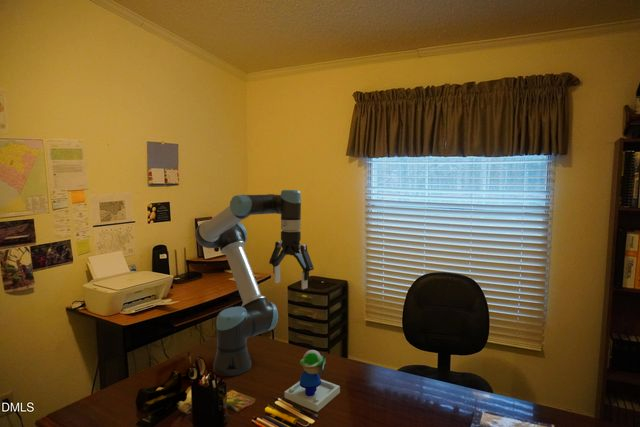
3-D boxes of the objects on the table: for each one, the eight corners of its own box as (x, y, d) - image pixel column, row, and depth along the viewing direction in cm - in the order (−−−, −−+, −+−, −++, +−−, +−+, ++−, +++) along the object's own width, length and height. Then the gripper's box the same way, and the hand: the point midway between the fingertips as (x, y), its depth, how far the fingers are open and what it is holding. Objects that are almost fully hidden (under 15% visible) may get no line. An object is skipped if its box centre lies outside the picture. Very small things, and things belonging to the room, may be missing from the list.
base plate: (284, 398, 127) (284, 390, 126) (308, 380, 138) (308, 373, 138) (317, 412, 119) (317, 403, 118) (339, 392, 130) (339, 384, 130)
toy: (322, 400, 123) (322, 357, 122) (296, 397, 125) (296, 355, 124) (327, 386, 132) (327, 346, 131) (303, 384, 134) (302, 344, 133)
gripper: (260, 228, 142) (260, 282, 144) (311, 234, 128) (310, 293, 129) (273, 227, 148) (273, 278, 150) (323, 232, 134) (322, 288, 136)
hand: (290, 285), depth 140 cm, fingers open, 13 cm apart
